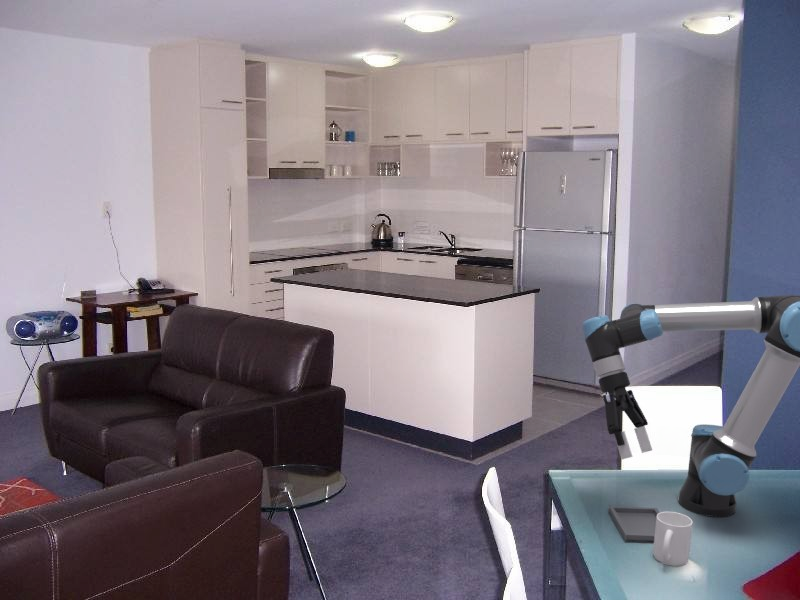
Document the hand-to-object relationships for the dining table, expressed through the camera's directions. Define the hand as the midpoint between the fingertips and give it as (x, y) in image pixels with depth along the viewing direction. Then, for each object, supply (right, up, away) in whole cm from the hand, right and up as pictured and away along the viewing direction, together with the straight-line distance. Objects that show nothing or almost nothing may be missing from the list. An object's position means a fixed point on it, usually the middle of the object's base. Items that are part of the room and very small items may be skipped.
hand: (637, 454), depth 208 cm
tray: (+3, -20, +6) cm, 21 cm away
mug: (+4, -24, -12) cm, 27 cm away
